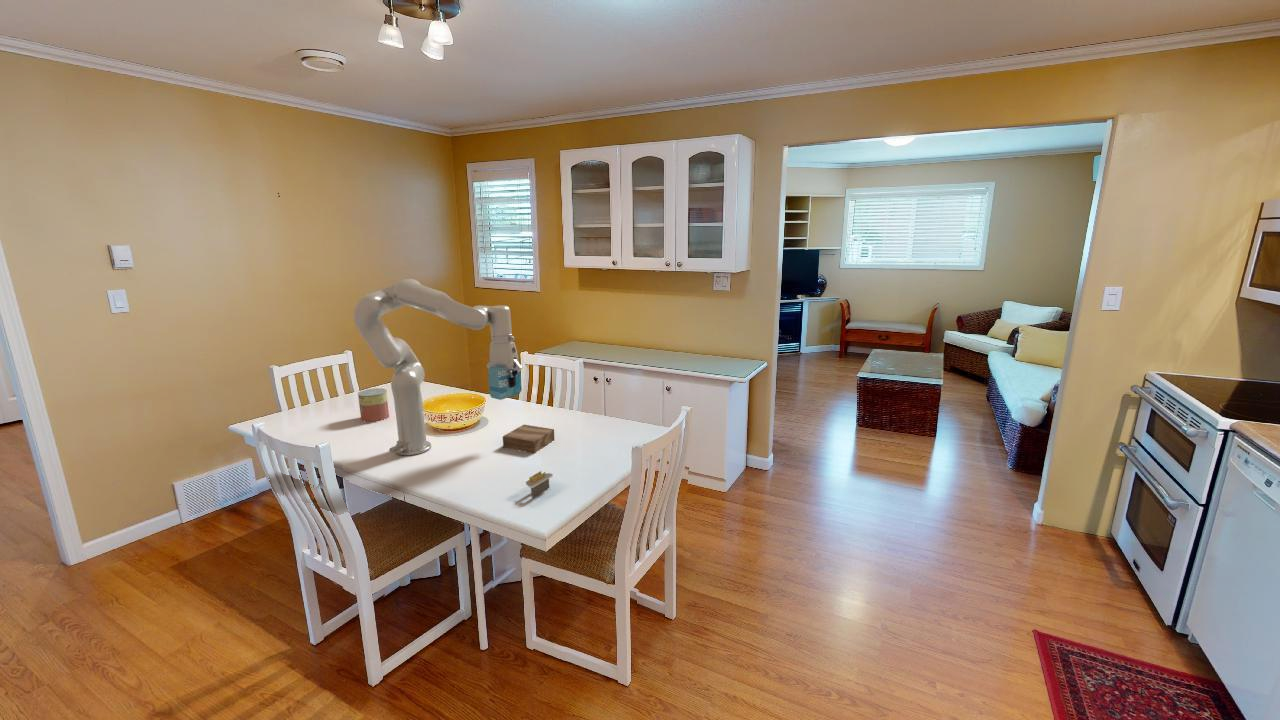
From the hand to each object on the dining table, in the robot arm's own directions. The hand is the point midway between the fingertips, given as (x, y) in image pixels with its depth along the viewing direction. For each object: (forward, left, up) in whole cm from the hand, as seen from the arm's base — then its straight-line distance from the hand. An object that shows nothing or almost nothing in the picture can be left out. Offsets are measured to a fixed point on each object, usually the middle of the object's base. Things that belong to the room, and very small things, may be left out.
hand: (505, 385), depth 208 cm
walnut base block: (+2, -8, -23) cm, 25 cm away
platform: (-32, -32, -24) cm, 51 cm away
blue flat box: (0, 0, -4) cm, 4 cm away
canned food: (+4, +71, -23) cm, 75 cm away
